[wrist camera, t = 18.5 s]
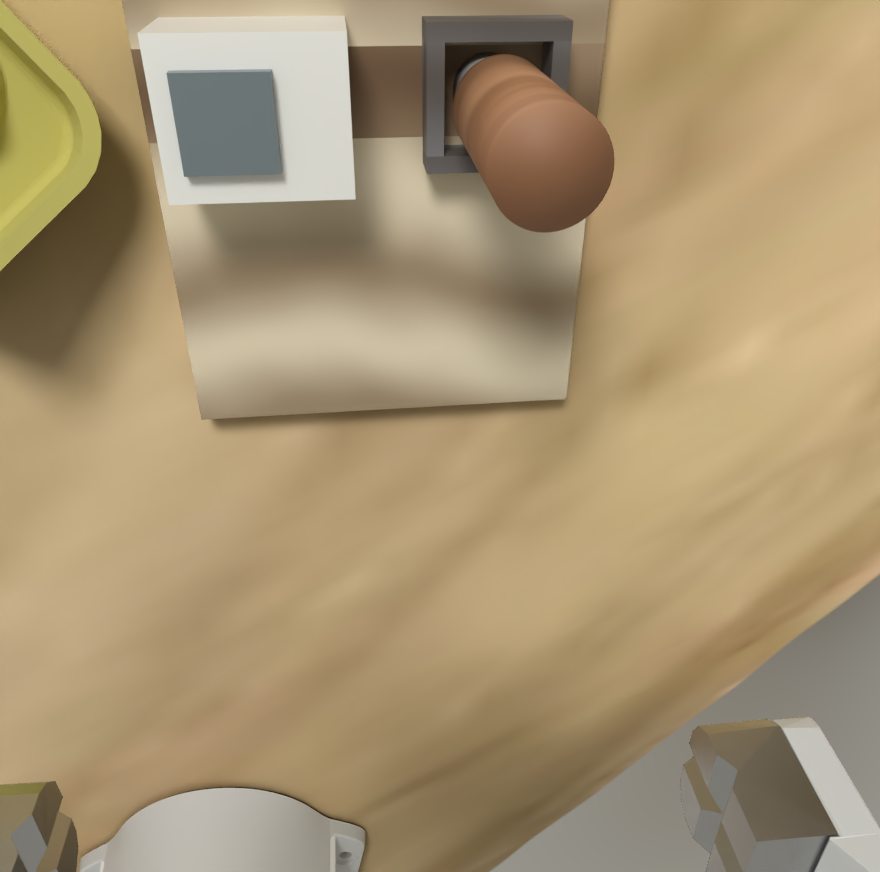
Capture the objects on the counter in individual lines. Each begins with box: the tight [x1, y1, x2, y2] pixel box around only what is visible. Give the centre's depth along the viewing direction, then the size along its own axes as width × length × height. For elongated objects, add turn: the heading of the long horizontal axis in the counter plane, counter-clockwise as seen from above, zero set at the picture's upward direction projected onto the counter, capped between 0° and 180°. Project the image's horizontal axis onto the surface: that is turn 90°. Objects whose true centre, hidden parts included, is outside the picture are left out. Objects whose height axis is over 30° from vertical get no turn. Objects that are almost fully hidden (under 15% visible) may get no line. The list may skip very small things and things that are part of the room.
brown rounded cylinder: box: [452, 52, 614, 233], centre depth 24 cm, size 3×3×10 cm
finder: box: [137, 16, 356, 205], centre depth 26 cm, size 6×5×4 cm
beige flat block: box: [122, 0, 610, 420], centre depth 30 cm, size 18×16×3 cm
